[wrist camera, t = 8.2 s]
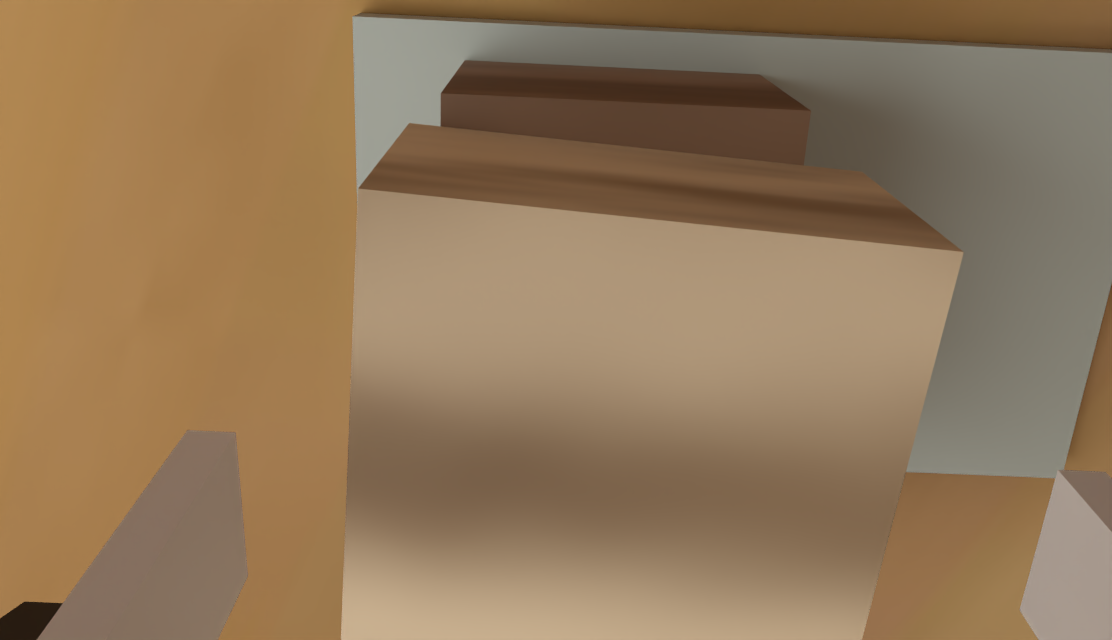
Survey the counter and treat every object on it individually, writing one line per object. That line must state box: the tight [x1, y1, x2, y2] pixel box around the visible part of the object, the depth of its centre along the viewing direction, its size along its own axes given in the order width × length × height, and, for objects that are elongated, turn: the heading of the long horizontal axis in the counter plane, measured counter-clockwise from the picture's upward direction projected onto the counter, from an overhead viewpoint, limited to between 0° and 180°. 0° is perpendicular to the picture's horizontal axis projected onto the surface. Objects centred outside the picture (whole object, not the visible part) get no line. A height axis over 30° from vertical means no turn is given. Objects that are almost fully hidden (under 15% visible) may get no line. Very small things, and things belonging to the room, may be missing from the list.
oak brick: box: [341, 123, 964, 640], centre depth 21 cm, size 10×10×6 cm
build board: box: [353, 13, 1112, 478], centre depth 30 cm, size 13×22×1 cm, turn 87°
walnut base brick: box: [440, 60, 811, 165], centre depth 27 cm, size 12×8×6 cm, turn 177°
